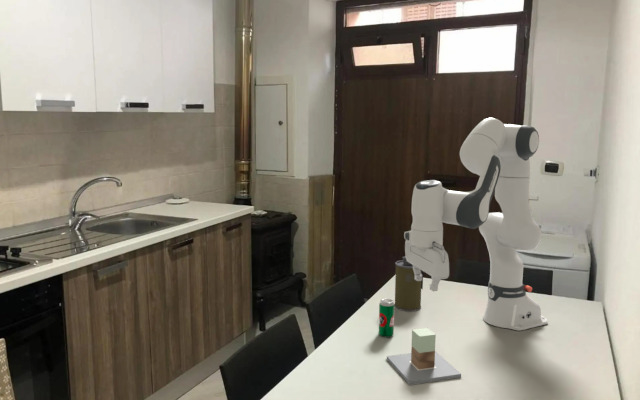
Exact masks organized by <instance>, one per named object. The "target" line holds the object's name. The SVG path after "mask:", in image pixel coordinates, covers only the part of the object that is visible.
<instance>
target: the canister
mask: <svg viewBox="0 0 640 400" xmlns="http://www.w3.org/2000/svg"><path fill="white" fill-rule="evenodd" d="M401 259H402V260H397V261H396V262H394V263H395V280H394V281H395V282H394V284H395V285H394V289H395V290H394V309H397V310H400V311H403V312H404V311H405V312H413V311H419V310H420V309H422V305H421V304H422V303H421V302H422V290H423V288H424V287H423V286H424V285H423V284H424V271H422V270H421V275H422V281H416V280H415V274H414V271H413V265H412V264H411V263H409V262H407V260H406V257H405V256H402V257H401Z"/></svg>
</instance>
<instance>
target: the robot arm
mask: <svg viewBox="0 0 640 400" xmlns="http://www.w3.org/2000/svg"><path fill="white" fill-rule="evenodd" d="M539 145H540V136H539V132H538V131H537V130H536V128H535V127H534V126H531V125H528V124H527V125H526V124H523V125H520V124H511V123H508V124H507V123H504V122H502V121H501V120H499V119H498V118H494V117H488V118H483V120H481V121H480V122H479V123H478V124H477V125H475V126H474V128H473V129H472V130H471V132H470V133H469V134H468V135H467V137H466V138H465V140H464V141H463V143H462V145H461V147H460V150H459V158H460V162H461V163H462V165H463V166H464V167H465V168H466V169H467V170H468V171H469V172H471V173H472V174H476V175H477V176H479V178H478V181H477V183H476V186H475V189H473V190H471V191H457V190H451V189H450V190H449V189H447V188H445V187H444V186H443V184H442V182H441V181H439V180H435V179H429V180H427V179H426V180H421V181H418V182H417V183H416V184H415V185H414V187H413V189H412V190H413V191H412V197H411V209H410V211H411V216H412V217H411V218H412V223H411V226H410V230H408V231H404V233H403V237H404V240H405V241H404V242H405V243H404V252H405V253H404V254H405V257H406V260H407V262H409V263H411V264H412V265H413V271H414V274H415V280H416V281H422V275H421V270H422V271H423V273H426V274H427V275H429V276H430V277H431V283H429V290H431V292H437V291H438V290H439V284H440V282H441V281H442V280H446V279H448V278H449V277H450V261H449V254H448V252H447V251H446V250H445V247H444V245H443V242H444V240H443V239H444V225H443V223H445V224H448V225H449V224H450V225H455V226H460V227H463V228H468V229H471V230H475V229H478V231H479V233H480V234H481V236H482V237H483V238H484V239H483V240H484V241H485V243H486V244H485V245H486V247H487V251H488V254H489V261H490V264H489V265H490V267H489V268H490V269H489V273H490V274H489V280H488V283H487V284H488V285H487V301H486V302H487V303H486V307H485V311H484V314H483V317H482V320H483V321H484V322H485V323H487V324H489V325H491V326H493V327H494V326H495V327H497V328H503V329H504V328H505V329H511V330H514V331H518V332H519V331H525V330H528V329H533V328H538V327H539V326H543V325H547V324H549V321H548V319H547V318H546V317H545V316H543V315H542V311H541V307H540V305H539V303H538V302H537V301H535V300H534V299H533V298H531V297H530V296H529V295H528V294H527V293H526V291H527V292H528V293H531V292H532V291H533V287H532V286H530V285H528V284H527V285H526V284H524V283H523V277H524V275H523V274H524V262H523V260H522V259H521V258H520V256H519V254H518V252H517V250H518V251H533V250H535V249H536V248H537V247H539V245H540V243H541V241H542V238H543V236H542V235H543V233H542V229H541V227H540V226H539V224H538V223H537V222H536V220H535V218H534V216H533V213H532V210H531V206H530V199H529V198H530V197H529V196H530V195H529V193H530V175H531V166H530V165H531V162H530V158H531V157H533V156H534V154H535V153H536V152H537V151H538V148H539ZM493 196H494V197H495V198H494V199H495V201H496V202H497V203H498V205H499V207H500V209H501V212H500V211H498V212H496V211H495V212H490V207H491V202H492V199H493Z"/></svg>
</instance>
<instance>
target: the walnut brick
mask: <svg viewBox="0 0 640 400" xmlns="http://www.w3.org/2000/svg"><path fill="white" fill-rule="evenodd" d="M410 349H411V350H410V351H411V352H410V353H411V362H412V363H413V364H414V365H415V366H416V367H417V368H418V369H425V368H432V367H434V365H435V351H436V350H435V351H431V352H423V353H419V352H418V351H417V350H416V349H414V348H413V347H412V346H411V348H410Z"/></svg>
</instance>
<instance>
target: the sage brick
mask: <svg viewBox="0 0 640 400" xmlns="http://www.w3.org/2000/svg"><path fill="white" fill-rule="evenodd" d="M436 335H437V334H436V333H435V332H433V331H432V330H431V329H429V328H428V327H424V328H415V329H412V330H411V348H412V347H413V348H414V349H416V350H417V351H418V352H419V353H423V352H431V351H436Z"/></svg>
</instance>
